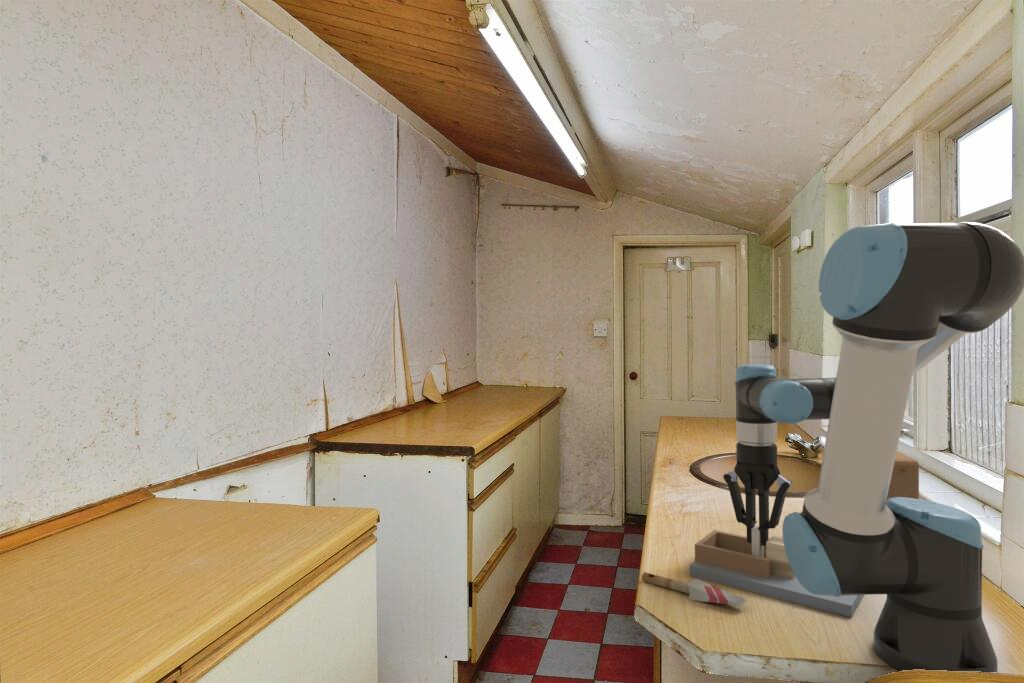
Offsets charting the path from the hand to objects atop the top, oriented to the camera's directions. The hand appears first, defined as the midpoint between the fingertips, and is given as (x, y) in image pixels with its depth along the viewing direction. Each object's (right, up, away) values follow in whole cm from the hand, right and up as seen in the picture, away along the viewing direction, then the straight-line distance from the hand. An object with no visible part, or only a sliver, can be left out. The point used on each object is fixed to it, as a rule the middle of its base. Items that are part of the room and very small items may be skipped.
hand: (757, 559), depth 121 cm
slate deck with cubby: (+3, -3, 0) cm, 5 cm away
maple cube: (+4, -1, -3) cm, 5 cm away
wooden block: (+36, -2, +16) cm, 39 cm away
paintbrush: (-16, -4, -8) cm, 18 cm away
